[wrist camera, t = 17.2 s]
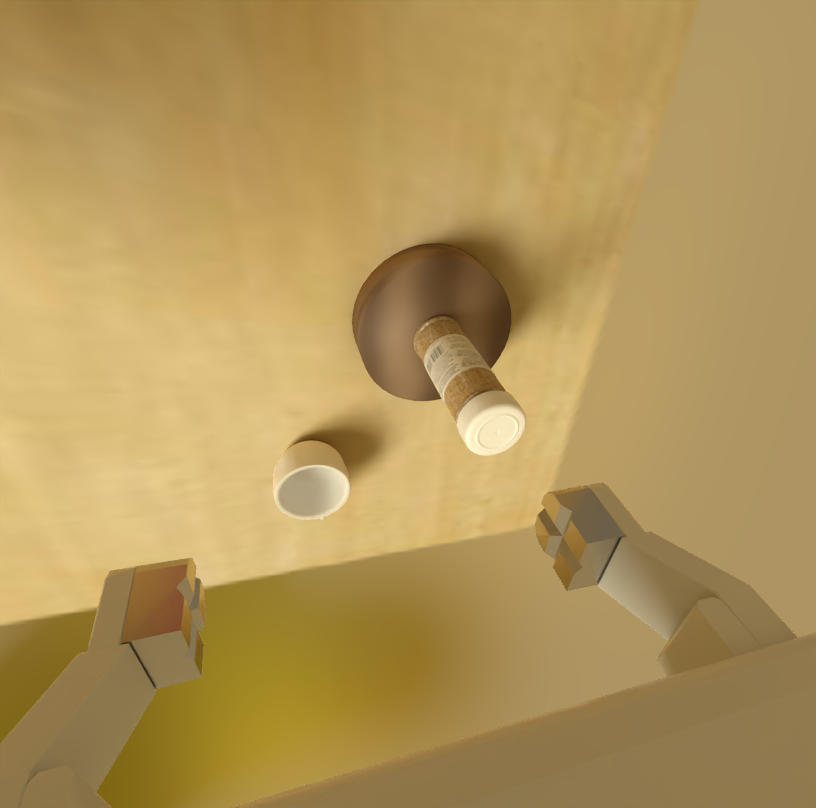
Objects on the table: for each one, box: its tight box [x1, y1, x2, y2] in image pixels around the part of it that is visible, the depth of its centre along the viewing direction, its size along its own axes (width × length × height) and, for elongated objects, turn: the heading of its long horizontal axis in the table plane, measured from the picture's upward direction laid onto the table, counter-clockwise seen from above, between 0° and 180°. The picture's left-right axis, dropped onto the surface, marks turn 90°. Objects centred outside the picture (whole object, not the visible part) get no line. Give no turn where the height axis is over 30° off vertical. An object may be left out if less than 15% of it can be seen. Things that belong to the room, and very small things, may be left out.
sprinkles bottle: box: [414, 316, 526, 455], centre depth 38 cm, size 5×5×13 cm
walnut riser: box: [352, 244, 511, 401], centre depth 45 cm, size 14×14×4 cm
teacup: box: [273, 441, 351, 520], centre depth 52 cm, size 10×8×5 cm
